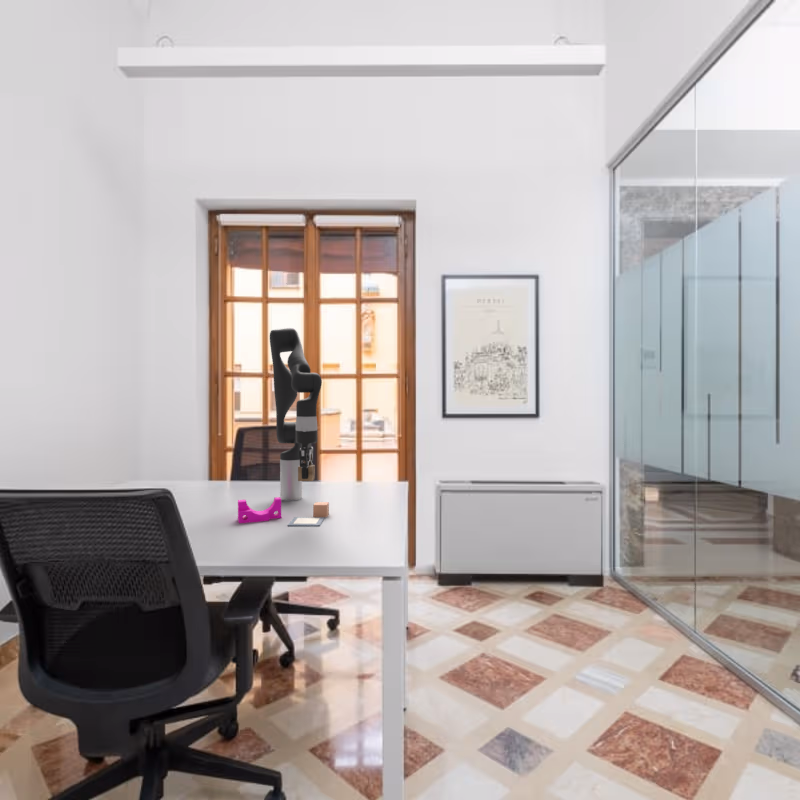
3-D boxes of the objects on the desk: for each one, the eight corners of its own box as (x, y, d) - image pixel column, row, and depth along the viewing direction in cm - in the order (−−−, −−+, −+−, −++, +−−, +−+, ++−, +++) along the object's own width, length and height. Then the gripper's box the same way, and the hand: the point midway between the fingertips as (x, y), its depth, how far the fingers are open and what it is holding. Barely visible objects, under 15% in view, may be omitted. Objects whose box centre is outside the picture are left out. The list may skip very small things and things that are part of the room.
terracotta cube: (315, 515, 200) (315, 502, 200) (328, 515, 200) (328, 502, 200) (313, 518, 195) (313, 505, 195) (326, 518, 195) (326, 505, 195)
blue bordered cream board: (294, 519, 194) (294, 516, 194) (324, 519, 193) (324, 517, 193) (287, 527, 183) (287, 524, 183) (319, 527, 182) (319, 524, 182)
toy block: (239, 524, 187) (238, 503, 187) (237, 520, 193) (237, 499, 193) (282, 521, 192) (282, 500, 192) (279, 517, 198) (279, 497, 198)
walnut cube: (300, 478, 190) (300, 464, 190) (314, 478, 190) (314, 464, 190) (298, 481, 185) (298, 466, 185) (312, 481, 185) (312, 466, 185)
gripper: (300, 427, 195) (300, 474, 195) (291, 430, 180) (291, 480, 181) (320, 427, 194) (320, 474, 195) (313, 430, 180) (313, 480, 180)
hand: (306, 477), depth 188 cm, fingers closed on walnut cube, 5 cm apart
